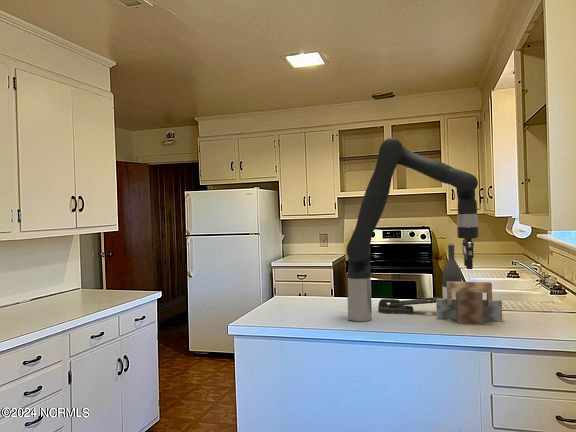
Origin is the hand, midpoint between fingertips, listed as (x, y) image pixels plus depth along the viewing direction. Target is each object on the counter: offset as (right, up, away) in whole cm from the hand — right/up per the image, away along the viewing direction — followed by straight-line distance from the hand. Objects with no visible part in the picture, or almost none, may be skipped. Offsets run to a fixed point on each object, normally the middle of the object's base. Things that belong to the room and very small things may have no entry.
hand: (468, 267), depth 172 cm
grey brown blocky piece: (+1, -21, 0) cm, 21 cm away
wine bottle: (+1, -21, +20) cm, 29 cm away
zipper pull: (-18, -22, +20) cm, 35 cm away
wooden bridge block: (0, -14, 0) cm, 14 cm away
